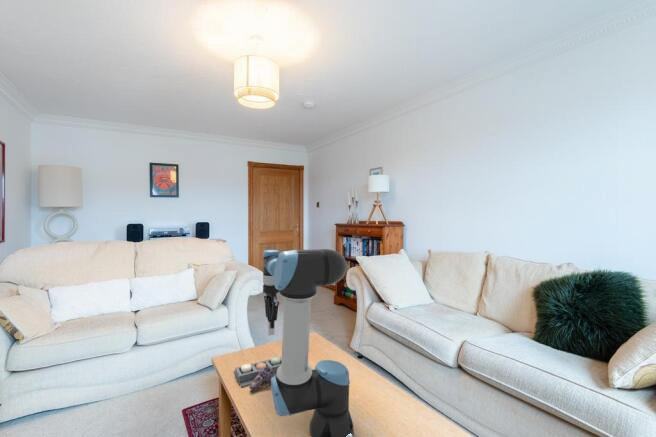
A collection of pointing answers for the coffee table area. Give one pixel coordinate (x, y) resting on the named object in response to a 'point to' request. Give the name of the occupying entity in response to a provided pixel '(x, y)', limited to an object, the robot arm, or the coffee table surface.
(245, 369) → the button cream
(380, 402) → the coffee table surface
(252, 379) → the button panel
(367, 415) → the coffee table surface
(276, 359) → the button sage
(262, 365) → the button terracotta
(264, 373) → the purple lumpy piece
